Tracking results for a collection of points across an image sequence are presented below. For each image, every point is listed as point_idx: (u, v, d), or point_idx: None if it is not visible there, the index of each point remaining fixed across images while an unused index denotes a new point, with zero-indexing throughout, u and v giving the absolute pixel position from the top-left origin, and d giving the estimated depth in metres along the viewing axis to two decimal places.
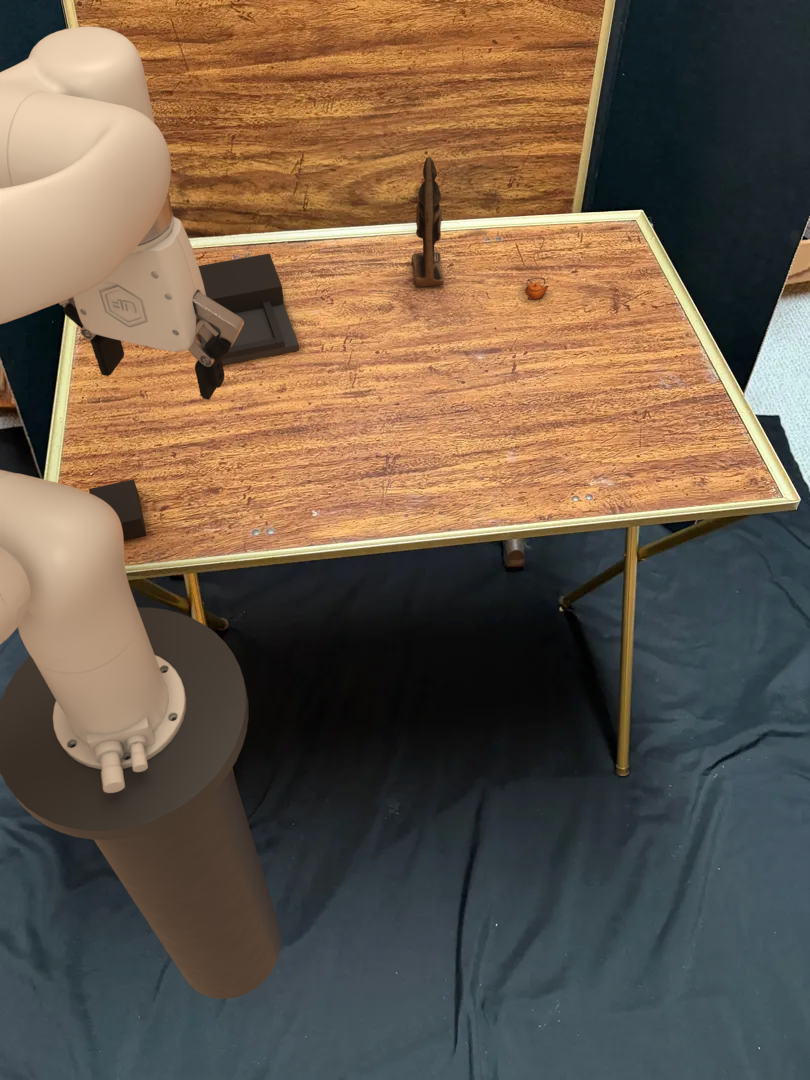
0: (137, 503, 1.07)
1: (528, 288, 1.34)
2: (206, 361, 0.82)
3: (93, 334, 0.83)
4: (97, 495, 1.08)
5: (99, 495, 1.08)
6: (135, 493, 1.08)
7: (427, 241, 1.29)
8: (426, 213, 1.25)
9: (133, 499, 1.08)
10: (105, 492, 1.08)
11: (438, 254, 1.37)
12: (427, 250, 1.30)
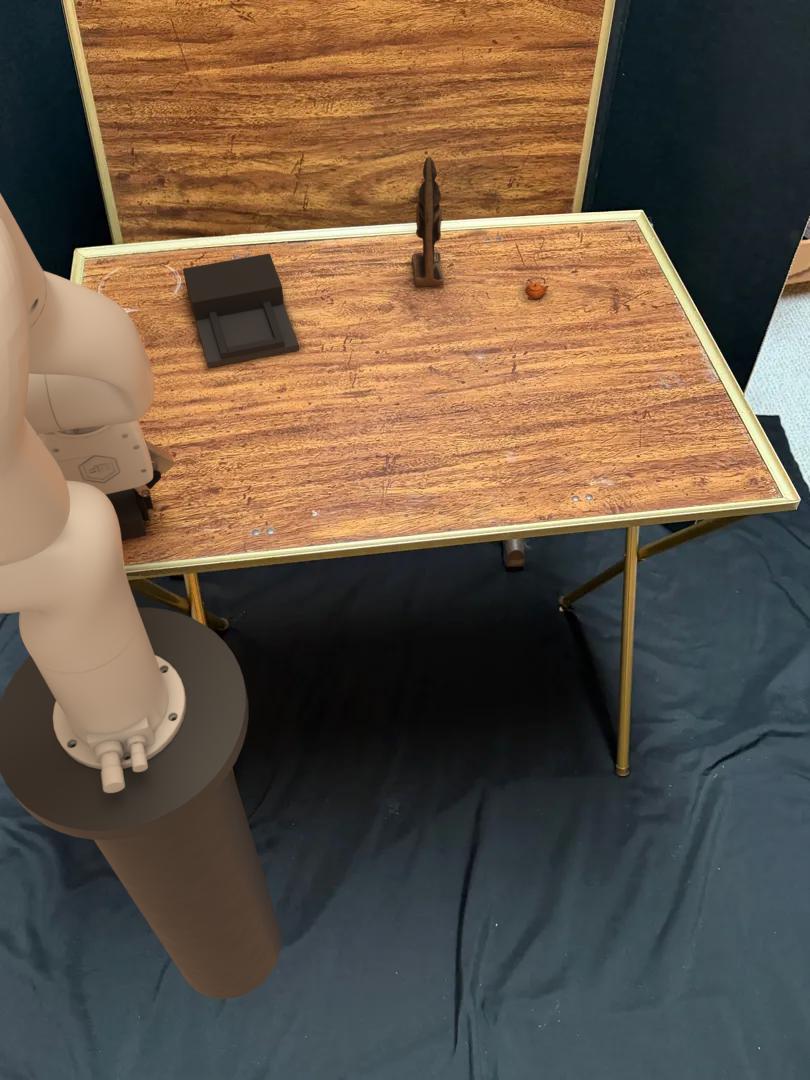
0: (137, 503, 1.07)
1: (528, 288, 1.34)
2: (145, 493, 1.06)
3: None
4: None
5: None
6: None
7: (427, 241, 1.29)
8: (426, 213, 1.25)
9: (133, 499, 1.08)
10: None
11: (438, 254, 1.37)
12: (427, 250, 1.30)
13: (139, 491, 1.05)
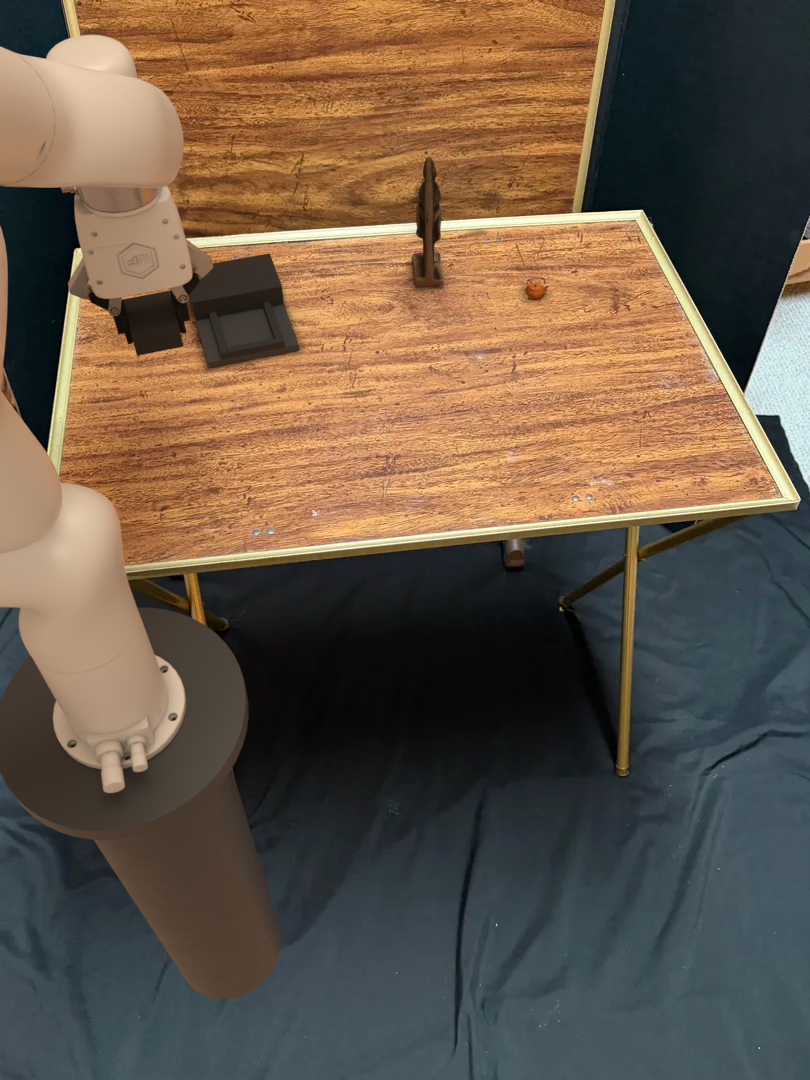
0: (174, 312, 1.04)
1: (528, 288, 1.34)
2: (183, 298, 1.02)
3: (120, 309, 1.01)
4: (132, 305, 1.04)
5: (134, 305, 1.04)
6: (171, 303, 1.04)
7: (427, 241, 1.29)
8: (426, 213, 1.25)
9: (169, 308, 1.04)
10: (140, 302, 1.04)
11: (438, 254, 1.37)
12: (427, 250, 1.30)
13: (177, 296, 1.01)
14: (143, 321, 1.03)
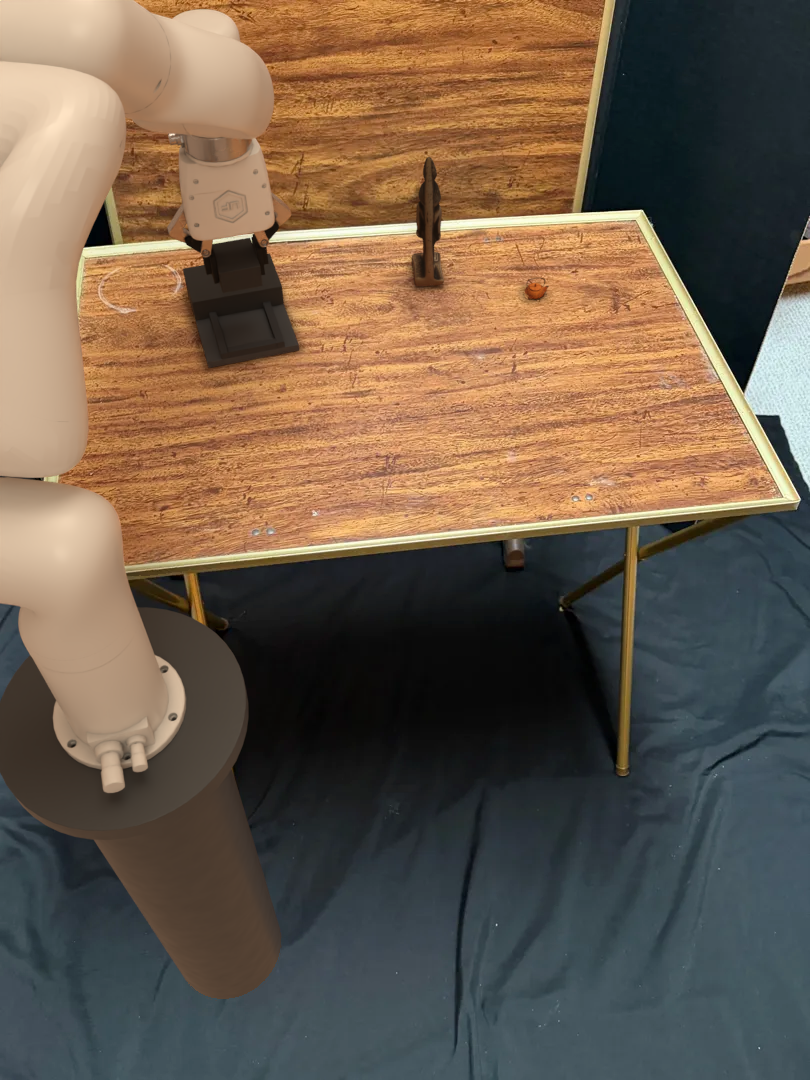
0: (255, 255, 1.19)
1: (528, 288, 1.34)
2: (264, 243, 1.17)
3: (211, 251, 1.16)
4: (218, 249, 1.20)
5: (220, 249, 1.20)
6: (252, 248, 1.20)
7: (427, 241, 1.29)
8: (426, 213, 1.25)
9: (251, 252, 1.19)
10: (225, 246, 1.20)
11: (438, 254, 1.37)
12: (427, 250, 1.30)
13: (259, 240, 1.17)
14: (229, 262, 1.18)
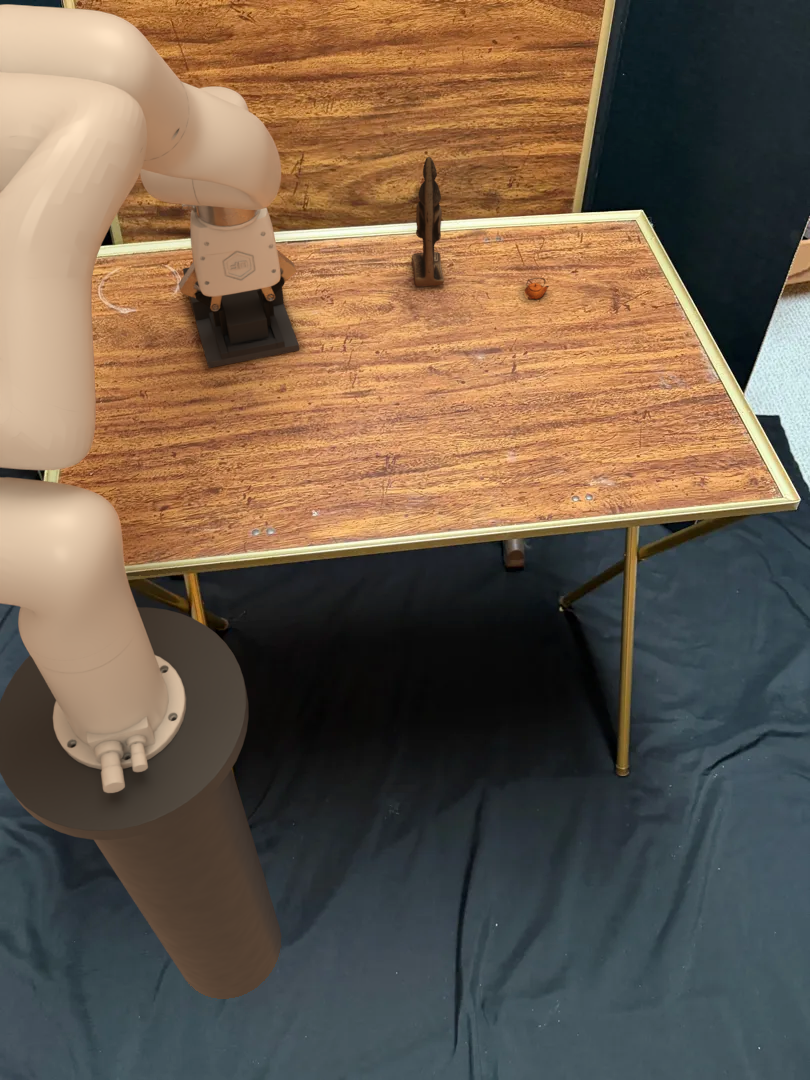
0: (262, 308, 1.25)
1: (528, 288, 1.34)
2: (270, 297, 1.24)
3: (220, 305, 1.22)
4: (227, 302, 1.26)
5: (228, 302, 1.26)
6: (259, 301, 1.26)
7: (427, 241, 1.29)
8: (426, 213, 1.25)
9: (257, 305, 1.26)
10: (233, 299, 1.26)
11: (438, 254, 1.37)
12: (427, 250, 1.30)
13: (266, 295, 1.23)
14: (237, 315, 1.24)
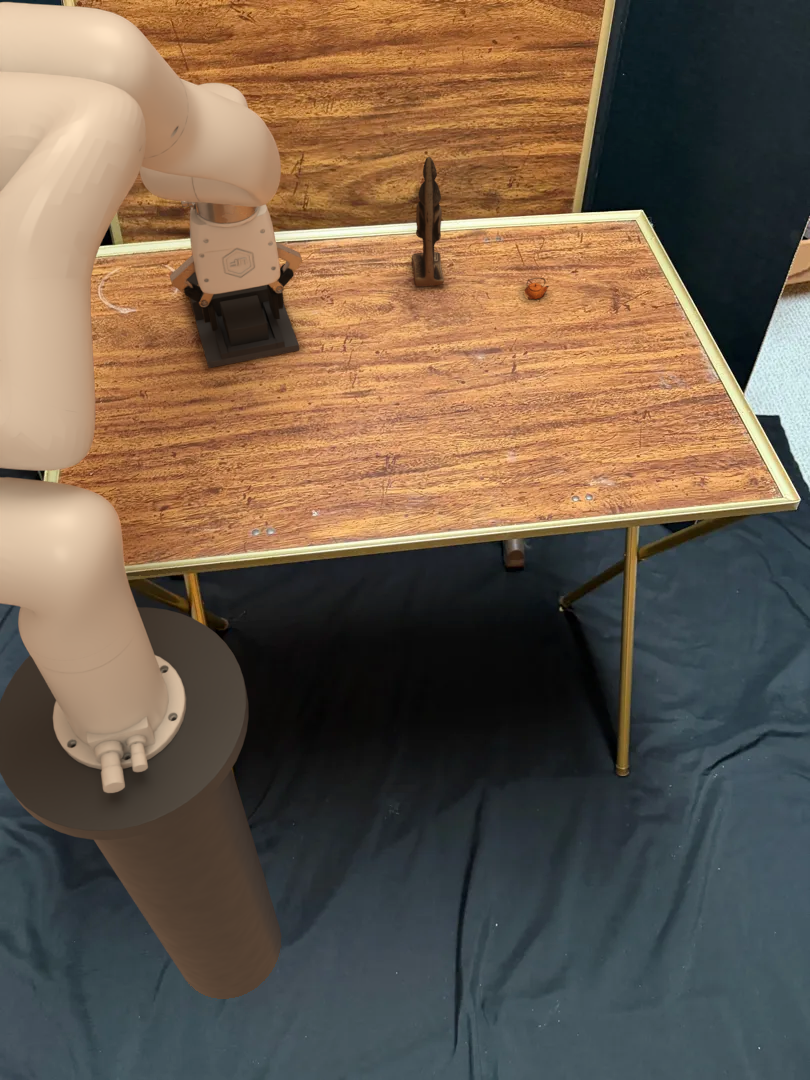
0: (262, 312, 1.26)
1: (528, 288, 1.34)
2: (279, 289, 1.23)
3: (209, 301, 1.21)
4: (227, 306, 1.26)
5: (229, 306, 1.26)
6: (259, 305, 1.27)
7: (427, 241, 1.29)
8: (426, 213, 1.25)
9: (258, 309, 1.26)
10: (234, 304, 1.27)
11: (438, 254, 1.37)
12: (427, 250, 1.30)
13: (275, 287, 1.23)
14: (238, 319, 1.25)
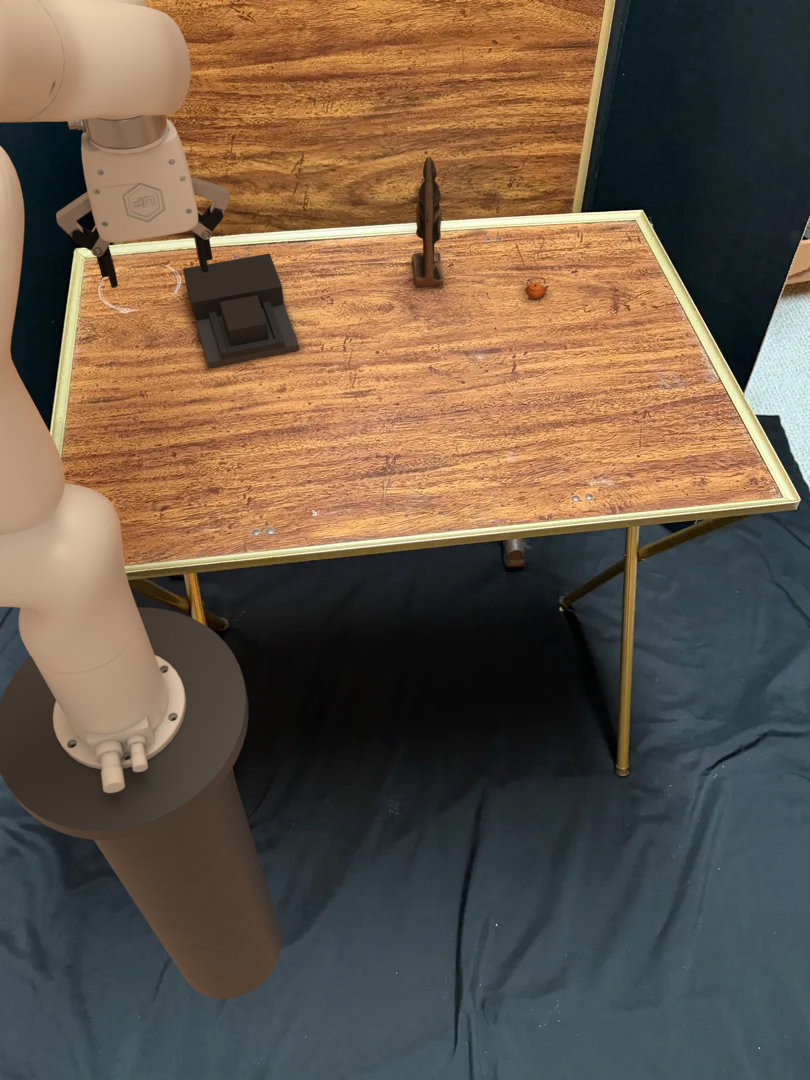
0: (262, 312, 1.26)
1: (528, 288, 1.34)
2: (206, 234, 1.01)
3: (104, 249, 0.99)
4: (227, 306, 1.26)
5: (229, 306, 1.26)
6: (259, 305, 1.27)
7: (427, 241, 1.29)
8: (426, 213, 1.25)
9: (258, 309, 1.26)
10: (234, 304, 1.27)
11: (438, 254, 1.37)
12: (427, 250, 1.30)
13: (200, 231, 1.01)
14: (238, 319, 1.25)
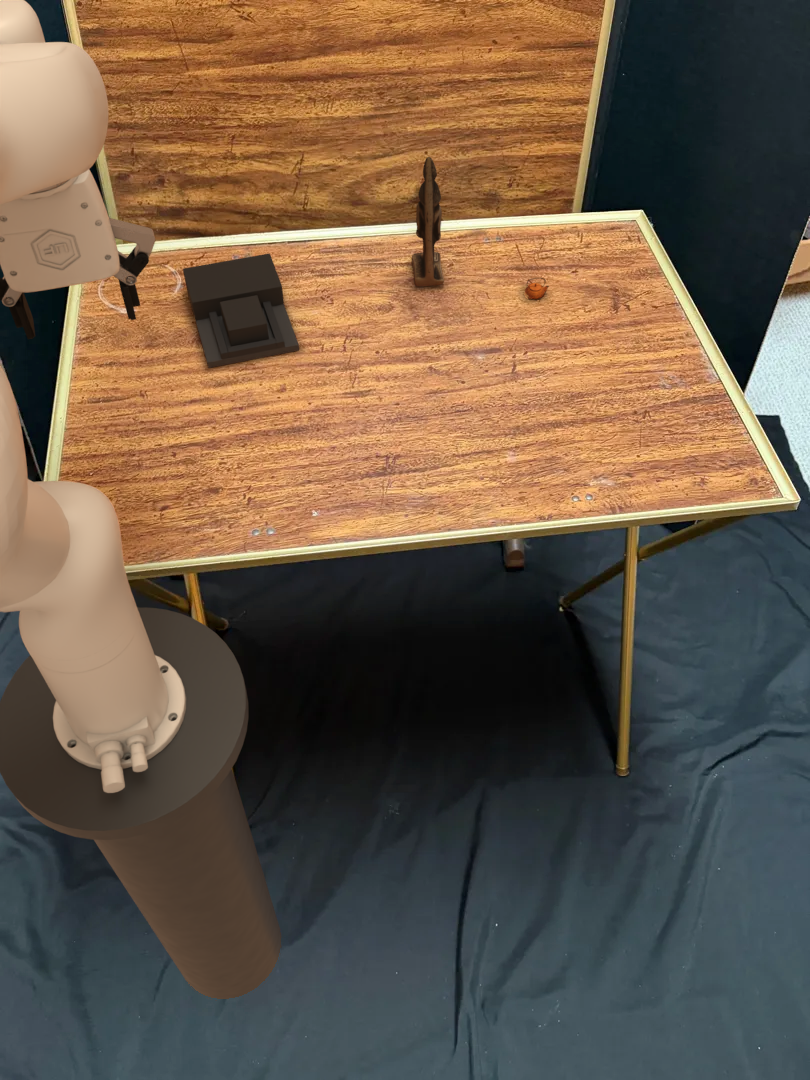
0: (262, 312, 1.26)
1: (528, 288, 1.34)
2: (130, 280, 0.92)
3: (16, 298, 0.90)
4: (227, 306, 1.26)
5: (229, 306, 1.26)
6: (259, 305, 1.27)
7: (427, 241, 1.29)
8: (426, 213, 1.25)
9: (258, 309, 1.26)
10: (234, 304, 1.27)
11: (438, 254, 1.37)
12: (427, 250, 1.30)
13: (123, 277, 0.91)
14: (238, 319, 1.25)
